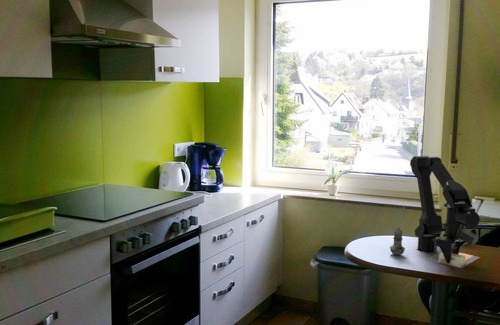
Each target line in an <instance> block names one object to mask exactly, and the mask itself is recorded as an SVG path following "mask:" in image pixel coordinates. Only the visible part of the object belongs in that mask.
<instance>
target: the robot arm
mask: <svg viewBox="0 0 500 325" xmlns="http://www.w3.org/2000/svg"><path fill="white" fill-rule="evenodd" d="M409 165H410V168H411V172H412V174H413V175H414V176H415V178H416V179H417V185H418V186H417V187H418V193H419V199H420V207H421V212H422V213H421V214H420V218H419V219H418V221H419V225H418V226H417V227H416V228H415V229H414V235H415V236H416V237H417V240H418V241H417V248H416V249H415V250H416V251H418V252H423V253H427V254H434V253H435V252H437V251H438V247H439V249H440V252H441V251H442V253H443V255H444V257H445V260H446V262H447V263H450V261H451V256H452V253H454V254H459V253H461V252H460V251H461V248H462V246H464V245H465V244H467V245H469V246H473V244H476V242H477V241H478V239H479V237H480V236H479V230H478V229H477V228H476V227H477V226H478V225H479V224H480V221H481V219H480V215H479V213H478V212H476V208H474V207H473V203H472V200H471V197H470V195H469V194H468V190H467V189H466V188H465V187H464V186H463V185H462V184H461V183H459V182H457V181H455V179H454V178H453V177H452V175H451V174H450V171H448V169H447V168H446V167H445V165H444V164H443V162H442V158H440V157H439V156H428V155H418V156H417V155H415V156H412V158H411V159H410V161H409ZM432 174H433V176H434V177H435V178H436V179H437V181H438V183H439V185H440V186H441V188H442V196H443V197H444V200H445V201H446V202H445V203H444V204H443V207H445V208H446V215H447V216H446V215H445V217H446V219H445V222H444V223H443V218H442V215H441V214H438V213H437V212H436V210H435V202H434V194H433V188H432V184H431V183H432V182H431V175H432ZM443 226H444V227H445V233H443V234H442V232H443V228H444V227H443ZM466 227H468V228H471V229H467V228H466ZM441 234H442V236H441ZM445 237H447V238H445Z"/></svg>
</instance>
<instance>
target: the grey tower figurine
mask: <svg viewBox="0 0 500 325" xmlns="http://www.w3.org/2000/svg"><path fill="white" fill-rule="evenodd" d="M393 234H394V235H393V236H394V237H392V238H393V243H392V245H390V246H389V249H390V252H391V254H390V255H389V256H390V257H393V256H395V257H400V256H401V255H403V254H404V252H405V250H406V248H405V247H404V246H403V245H402V242H403V231H402V229H400V227H399V226H398V227H397V229H394V233H393Z"/></svg>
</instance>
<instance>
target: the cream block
mask: <svg viewBox="0 0 500 325" xmlns="http://www.w3.org/2000/svg"><path fill="white" fill-rule="evenodd" d="M438 262H441V263H445V264H449V265H453V266H457V267H460V266H462V265H464V264H465V256H463V255H458V254H454V253H452V256H451V261H450V263H447V262H446V260H445V257H444V255H443V253H440V254H439V260H438ZM441 263H440V264H441ZM445 264H444V265H445ZM449 265H448V266H449ZM453 266H452V267H453ZM457 267H456V268H457Z"/></svg>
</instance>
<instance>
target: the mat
mask: <svg viewBox="0 0 500 325" xmlns="http://www.w3.org/2000/svg"><path fill="white" fill-rule="evenodd" d="M440 253H442V251H441V250H440V251H439V252H437V253H435V254H432V255H431V256H428V257H426V258H424V260H425V261H430V262H434V263H438V264H442V265H445V266H449V267H454V268H458V269H463V268H464V267H466V266H468V265H470V264H471V263H473V262H475V261H476V260H478V259H480V258H481V257H480V256H475V255H472V254H467V253H464V252H459V254H458V255H463V256H465V264H464V265H462V266H460V267H457V266H453V265H449V264H445V263H441V262H438V260H439V254H440Z"/></svg>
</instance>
